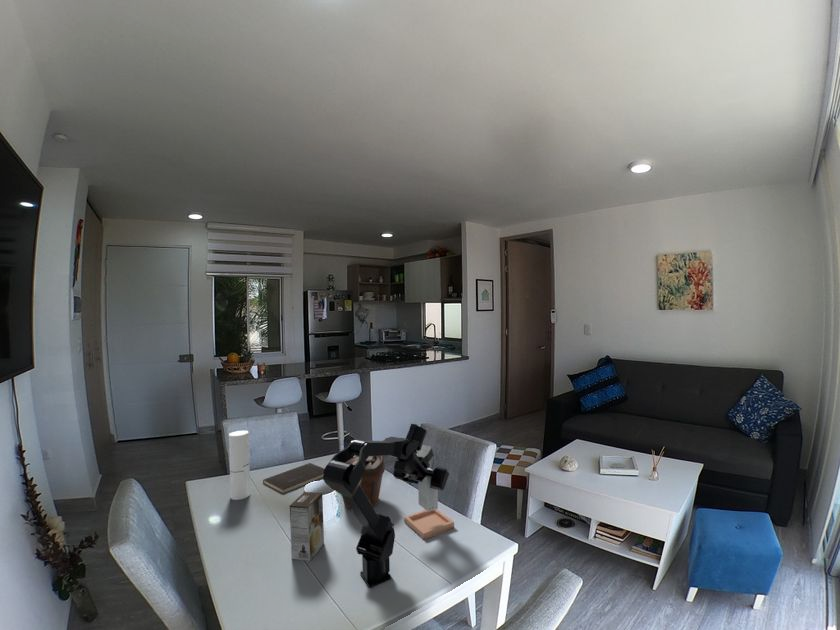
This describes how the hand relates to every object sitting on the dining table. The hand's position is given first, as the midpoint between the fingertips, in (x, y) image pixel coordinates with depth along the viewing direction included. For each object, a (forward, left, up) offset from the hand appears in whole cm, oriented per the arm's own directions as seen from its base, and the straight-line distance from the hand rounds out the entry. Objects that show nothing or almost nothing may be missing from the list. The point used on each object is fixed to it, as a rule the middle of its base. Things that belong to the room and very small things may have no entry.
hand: (430, 485), depth 132 cm
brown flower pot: (-13, +28, -13) cm, 33 cm away
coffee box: (-39, +9, -13) cm, 42 cm away
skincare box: (-1, 0, -7) cm, 7 cm away
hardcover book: (-28, +63, -14) cm, 71 cm away
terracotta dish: (-1, 0, -13) cm, 13 cm away
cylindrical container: (-51, +61, -13) cm, 80 cm away
